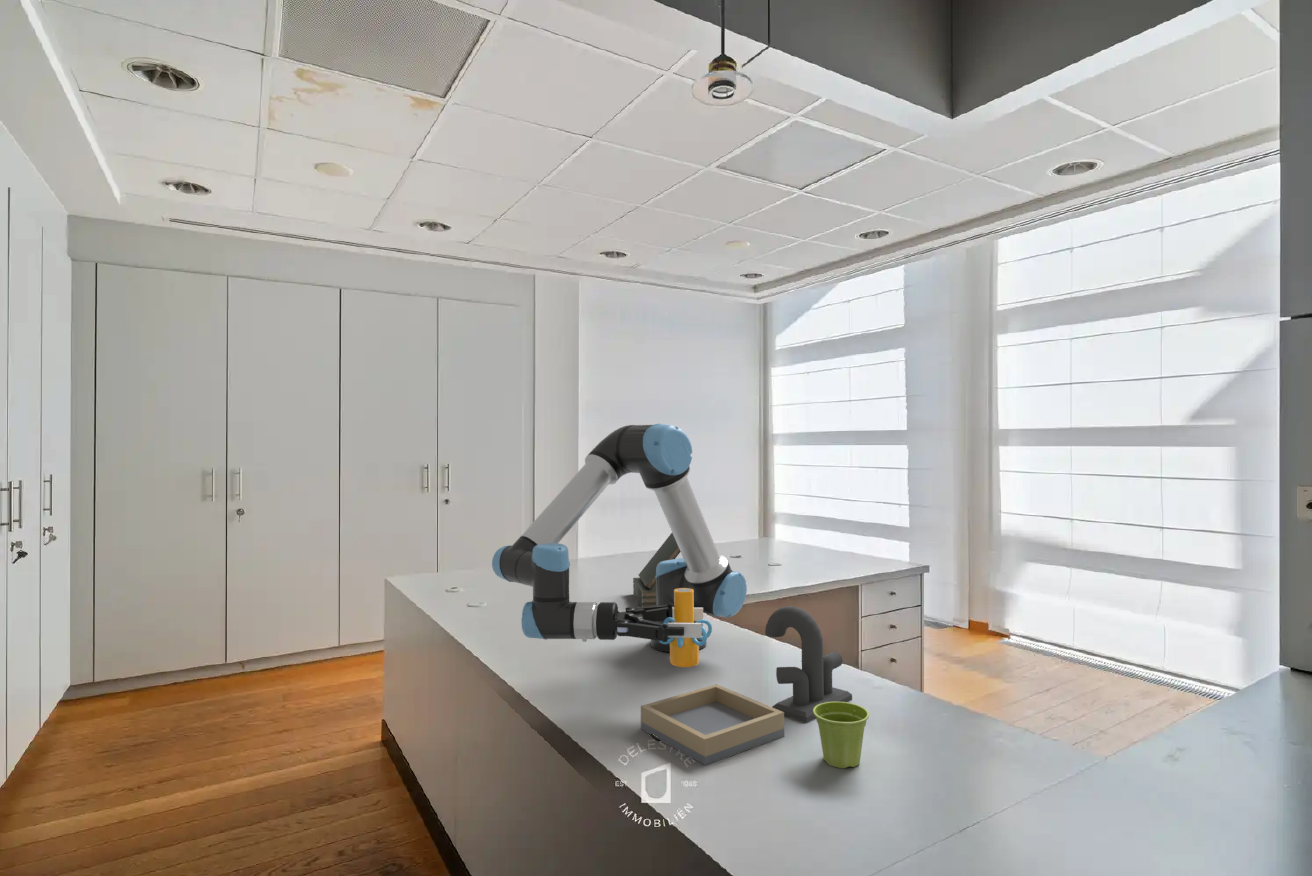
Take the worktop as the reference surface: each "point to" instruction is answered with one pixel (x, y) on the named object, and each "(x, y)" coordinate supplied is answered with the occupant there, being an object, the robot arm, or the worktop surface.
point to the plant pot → (841, 732)
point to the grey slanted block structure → (653, 573)
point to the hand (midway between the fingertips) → (702, 622)
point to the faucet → (805, 666)
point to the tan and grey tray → (712, 723)
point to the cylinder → (685, 649)
